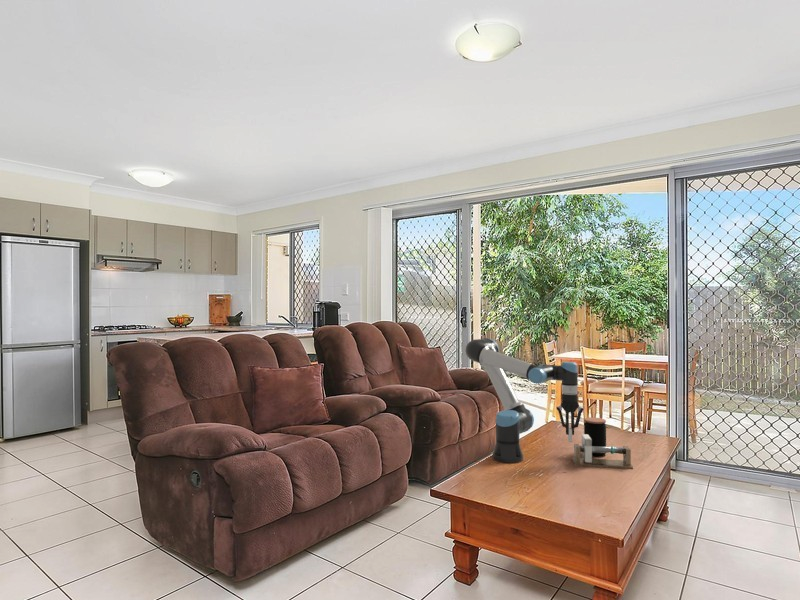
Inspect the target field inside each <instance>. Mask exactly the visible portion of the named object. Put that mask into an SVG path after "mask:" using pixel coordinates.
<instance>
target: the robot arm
mask: <svg viewBox="0 0 800 600" xmlns="http://www.w3.org/2000/svg"><path fill="white" fill-rule="evenodd" d="M499 351H500V348H499V344H498V343H497V341H495V340H494V339H491V338H487V337H484V338H483V337H482V338H479V339H472V340H470V341H469V342H467V344H466V345H465V355H466V356H467V358H468V359H469V360H471V361H473V362H475V363H479V365H480V367H481V368H482V367H483V368H484V369H485V371H486V373H487V375H488V376H487V377H489V380H490V381H491V385H492V386H493V388H494V390H495V392H496V394H497V396H498V398H499V400H500V403H501V405H502V406H503V410H500V411H498V412H497V413H496V415H495V445H494V448H493V451H492V459H493V460H494V461H496V462H499V463H508V464H511V463H512V464H515V463H520V462H523V460H524V454H523V450H522V448H521V444H520V434H524V433H526V432H528V431H529V430H530V429H531V428H532V427H533V426H534V421H535V418H534V415H533V413H532V411H531V410H529V409H528V408H526V407H525V405H524V403H523V402H521V401H519V399H518V397H517V394H516V392H515V390H514V389H513V387H512V384H511V383H510V381H509V378H508V376H507V375H506V373H505V371H506V372H508V373H511V374H514V375H517V376H519V377H522V378H526V379H528V380H529V381H530V382H531V383H533V384H536V385H537V384H542V383H544V382H545V383H546V382H549V381H560V382H561V393H562V394H561V403H560V405H559V406H556V410H557V412H558V415H559V418H560V422H561V426H562V427H563V428H565V435H567V440H568V443H572V442H573V436H574V435H575V428H578V427H579V424H580V420H581V416H582V413H583V412H584V408H583V407H581V406H580V404H579V402H578V401H579V396H578V395H579V393H578V386H579V385H578V376H579V375H578V373H579V371H578V363H577V362H576V361H575V362H574V361H562V362H561V364H560V365H556V364H555V365H554V364H547V363H545V364H544V363H543V364H539V365H535V364H532V363H530V362H528V361H524V360H521V359H518V358H516V357H513V356H511V355H510V356H509V355H507V354H504V353H502V352H499ZM562 409H563V411H564V412H565V421H564V417H563V412H562ZM576 411H577V415H576V419H575V412H576ZM569 417H570V418H569Z"/></svg>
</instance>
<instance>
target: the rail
mask: <svg viewBox="0 0 800 600" xmlns="http://www.w3.org/2000/svg"><path fill="white" fill-rule="evenodd" d="M631 451H632V450H631V448H630V447H629V446H627V445H623V446H622V447H621V446H620V447H619V446H618V447H617V446H606V447H601V446H592V452H593V453H606V454H611V455H616V454H617V455H618V454H619V455H622V459H608V458H607V459H606V458H592V462H585V461H584V459H583V457H581V453H582V452H584V446H582V445H579V444H578V443H574V444H573V457H572V461H573V463H574V465H575V466H576V467H592V468H594V467H595V468H609V469H610V468H612V469H613V468H615V469H629V470H631V469H632V470H634V466H633V465H632V461H631V459H632V456H631V454H632V453H631Z"/></svg>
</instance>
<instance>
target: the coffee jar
mask: <svg viewBox="0 0 800 600" xmlns="http://www.w3.org/2000/svg"><path fill="white" fill-rule="evenodd" d="M583 421H584V423H583V434H588V435H589V436H590V438H591V439H592V446H601V447H607V425H606V422H607V420H606V419H605V418H602V417H601V418H600V417H591V416H590V417H585V418H584V419H583ZM606 454H607V453H593V452H592V457H595V458H599V457H605V455H606Z"/></svg>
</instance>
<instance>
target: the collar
mask: <svg viewBox="0 0 800 600" xmlns="http://www.w3.org/2000/svg"><path fill="white" fill-rule="evenodd" d="M581 446H584V452H581V458H583V459H584V461H585V462H592V459H593V456H592V439H591V438H590V436H589V435H588V434H584V433H581Z"/></svg>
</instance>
